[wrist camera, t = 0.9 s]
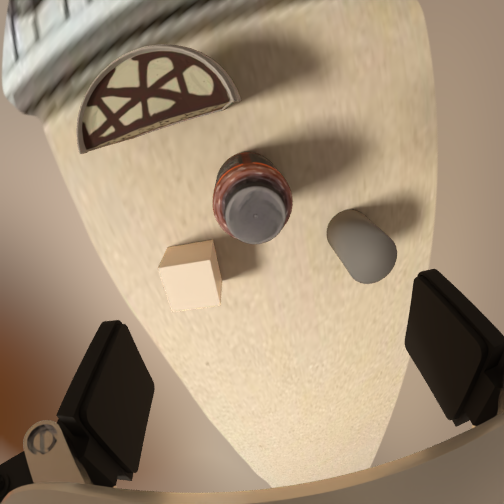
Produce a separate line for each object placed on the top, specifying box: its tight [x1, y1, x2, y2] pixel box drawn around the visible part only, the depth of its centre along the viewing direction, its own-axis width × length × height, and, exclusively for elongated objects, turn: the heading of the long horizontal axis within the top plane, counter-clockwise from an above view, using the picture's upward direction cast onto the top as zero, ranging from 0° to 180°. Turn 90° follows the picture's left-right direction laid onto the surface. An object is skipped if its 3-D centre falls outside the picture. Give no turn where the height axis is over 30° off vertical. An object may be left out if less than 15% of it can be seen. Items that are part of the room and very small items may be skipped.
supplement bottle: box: [213, 152, 292, 244], centre depth 25 cm, size 6×6×11 cm
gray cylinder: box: [327, 210, 397, 284], centre depth 30 cm, size 5×5×7 cm
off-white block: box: [158, 240, 222, 312], centre depth 32 cm, size 5×5×5 cm
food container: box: [77, 44, 241, 154], centre depth 22 cm, size 12×6×10 cm, turn 104°
